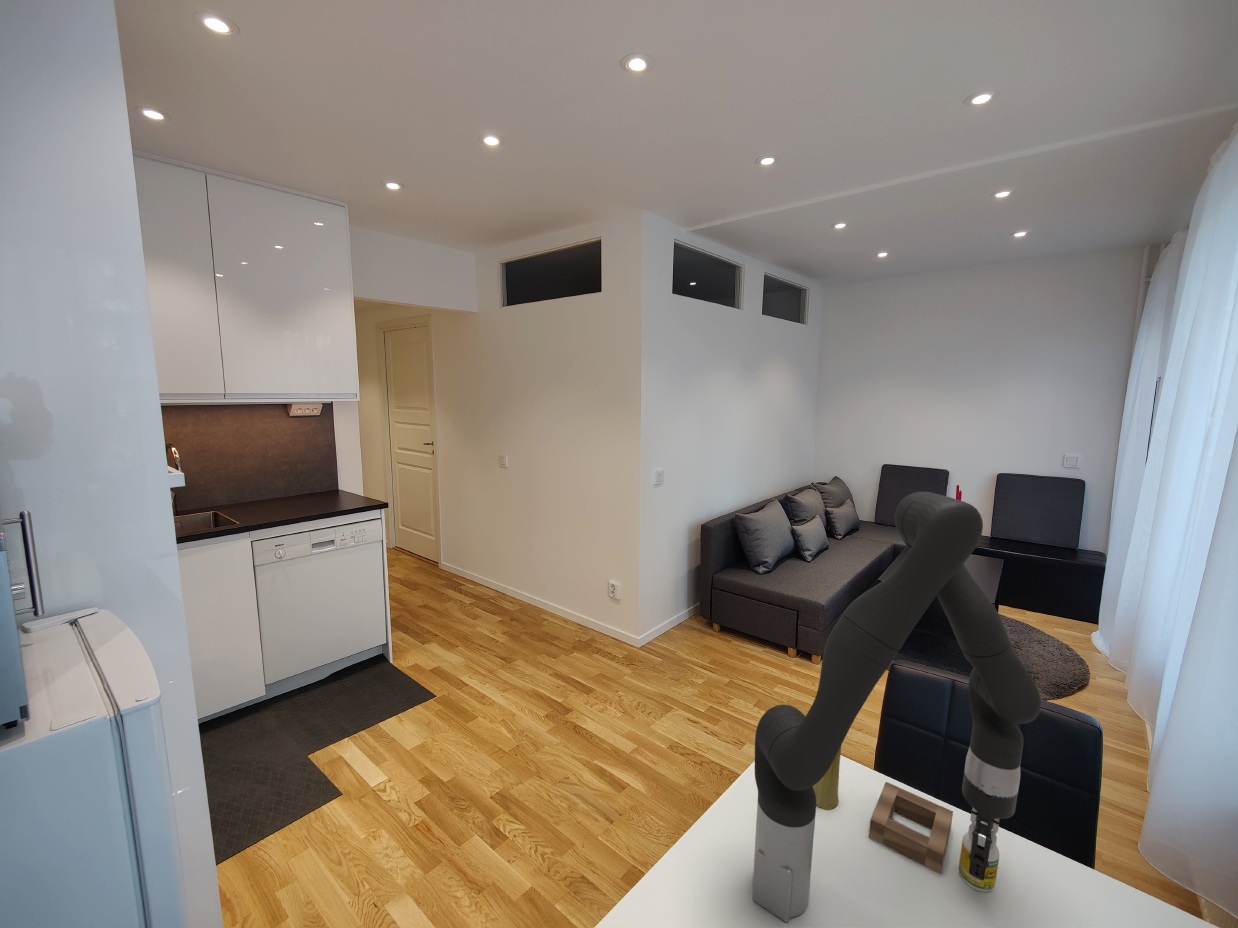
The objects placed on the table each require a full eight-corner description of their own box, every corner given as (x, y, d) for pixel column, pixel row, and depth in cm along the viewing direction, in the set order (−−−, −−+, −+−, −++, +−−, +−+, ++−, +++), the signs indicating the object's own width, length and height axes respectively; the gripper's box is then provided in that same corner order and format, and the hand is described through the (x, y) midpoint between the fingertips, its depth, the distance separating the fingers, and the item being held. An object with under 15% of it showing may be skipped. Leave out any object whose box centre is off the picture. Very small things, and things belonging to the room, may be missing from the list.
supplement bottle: (966, 859, 97) (973, 814, 95) (1000, 882, 93) (1007, 835, 91) (952, 874, 94) (958, 828, 93) (986, 899, 90) (993, 851, 88)
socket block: (940, 873, 94) (943, 854, 94) (868, 836, 102) (870, 818, 101) (950, 828, 104) (953, 811, 103) (884, 797, 111) (885, 781, 110)
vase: (841, 794, 112) (846, 734, 109) (835, 814, 107) (840, 751, 104) (811, 782, 115) (815, 723, 113) (804, 801, 110) (808, 740, 107)
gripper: (969, 744, 98) (959, 822, 101) (959, 792, 87) (947, 878, 90) (1020, 763, 93) (1007, 844, 96) (1016, 817, 82) (1001, 906, 85)
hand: (978, 860), depth 93 cm, fingers open, 6 cm apart
